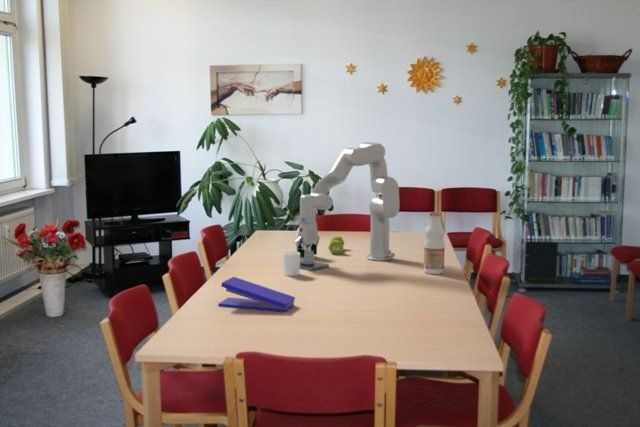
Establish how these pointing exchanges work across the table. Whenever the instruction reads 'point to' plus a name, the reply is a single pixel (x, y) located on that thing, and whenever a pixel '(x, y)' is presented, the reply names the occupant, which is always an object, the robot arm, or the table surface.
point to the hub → (308, 257)
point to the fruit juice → (434, 246)
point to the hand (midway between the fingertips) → (307, 255)
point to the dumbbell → (336, 245)
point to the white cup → (291, 263)
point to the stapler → (255, 296)
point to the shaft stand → (311, 265)
